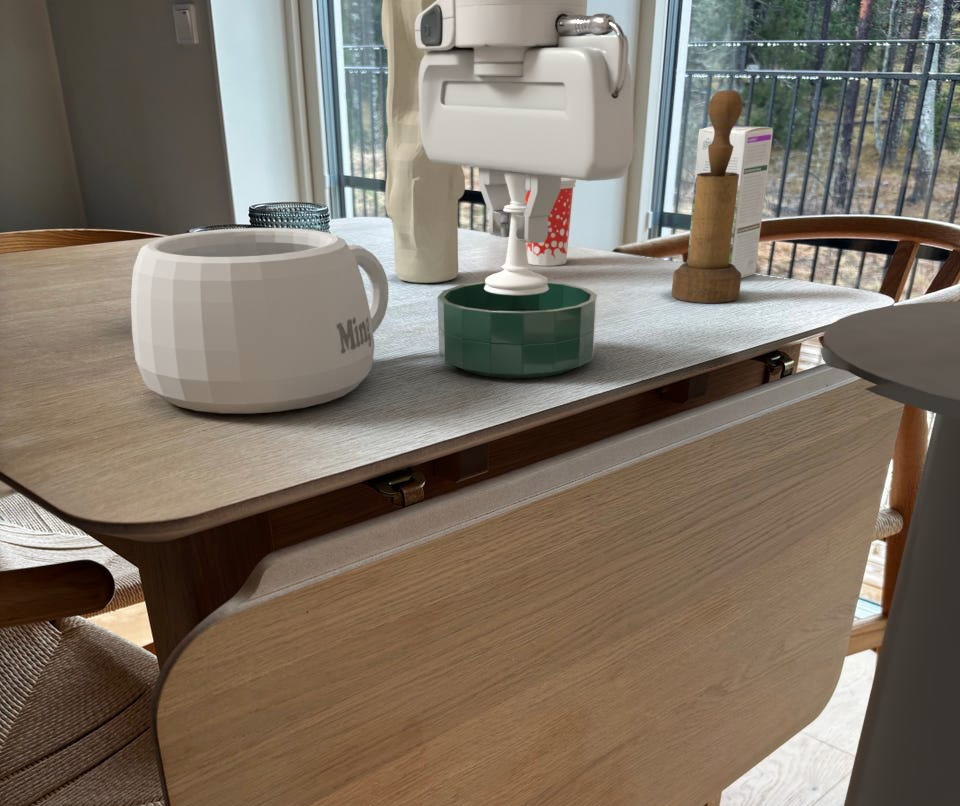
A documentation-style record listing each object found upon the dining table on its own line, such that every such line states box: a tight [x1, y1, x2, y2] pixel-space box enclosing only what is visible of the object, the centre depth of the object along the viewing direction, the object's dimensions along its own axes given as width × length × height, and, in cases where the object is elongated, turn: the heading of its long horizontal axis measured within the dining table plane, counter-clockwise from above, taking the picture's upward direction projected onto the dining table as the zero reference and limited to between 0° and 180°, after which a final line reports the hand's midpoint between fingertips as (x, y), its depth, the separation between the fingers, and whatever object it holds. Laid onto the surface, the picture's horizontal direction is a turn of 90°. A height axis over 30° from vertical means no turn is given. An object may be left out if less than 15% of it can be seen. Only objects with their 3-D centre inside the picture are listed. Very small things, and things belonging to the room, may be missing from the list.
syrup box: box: [686, 125, 774, 279], centre depth 104 cm, size 6×6×14 cm
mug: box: [130, 227, 389, 415], centre depth 70 cm, size 21×17×10 cm
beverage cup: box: [525, 178, 577, 267], centre depth 112 cm, size 6×6×14 cm
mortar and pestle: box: [670, 89, 743, 304], centre depth 93 cm, size 7×6×18 cm
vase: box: [381, 0, 466, 284], centre depth 99 cm, size 9×8×30 cm
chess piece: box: [484, 171, 549, 296], centre depth 72 cm, size 5×5×10 cm
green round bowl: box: [437, 281, 598, 379], centre depth 76 cm, size 12×12×5 cm
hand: (517, 238), depth 72 cm, fingers closed on chess piece
